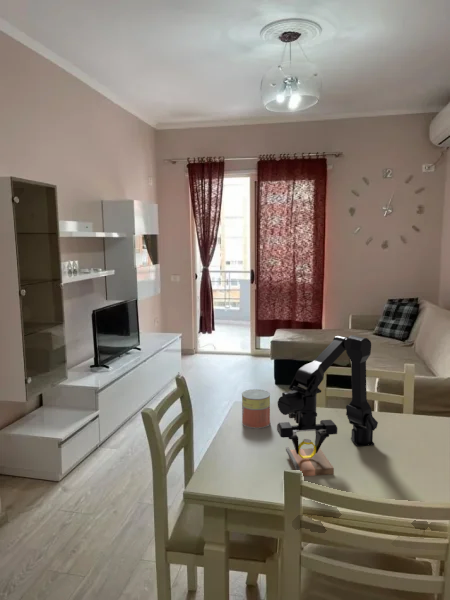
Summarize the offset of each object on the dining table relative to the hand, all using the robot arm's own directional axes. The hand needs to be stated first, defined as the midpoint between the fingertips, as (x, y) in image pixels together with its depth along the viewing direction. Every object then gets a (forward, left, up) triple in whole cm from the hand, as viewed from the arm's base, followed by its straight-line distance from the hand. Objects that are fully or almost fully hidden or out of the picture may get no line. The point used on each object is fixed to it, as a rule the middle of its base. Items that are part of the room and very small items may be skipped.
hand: (306, 453), depth 150 cm
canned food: (+10, -36, -4) cm, 38 cm away
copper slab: (-1, 0, -4) cm, 4 cm away
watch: (0, 0, -2) cm, 2 cm away
